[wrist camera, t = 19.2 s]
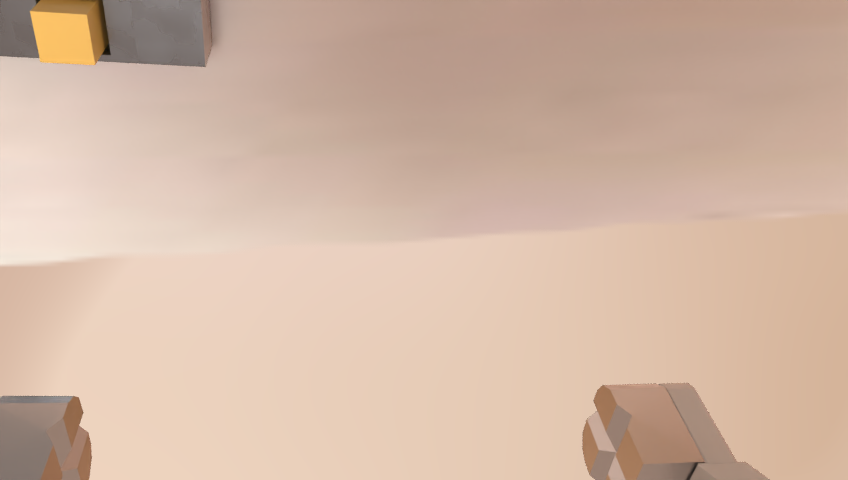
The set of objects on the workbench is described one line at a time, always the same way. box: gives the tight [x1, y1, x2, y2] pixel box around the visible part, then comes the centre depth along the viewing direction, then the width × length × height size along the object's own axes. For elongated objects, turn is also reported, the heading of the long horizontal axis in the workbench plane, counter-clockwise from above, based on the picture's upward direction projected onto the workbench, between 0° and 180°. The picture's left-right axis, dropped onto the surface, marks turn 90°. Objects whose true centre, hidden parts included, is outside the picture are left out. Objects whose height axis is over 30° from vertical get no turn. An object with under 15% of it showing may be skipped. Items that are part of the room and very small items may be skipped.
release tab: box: [30, 0, 109, 65], centre depth 35 cm, size 2×2×4 cm
